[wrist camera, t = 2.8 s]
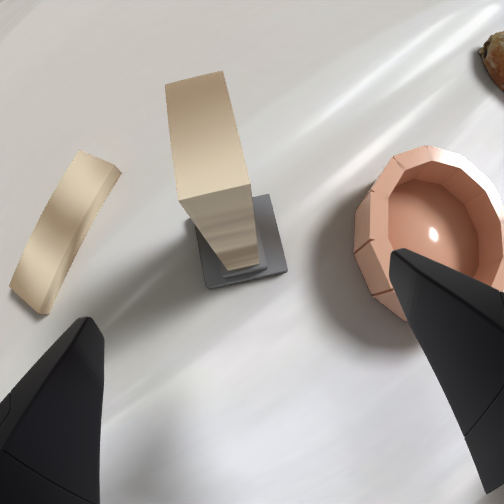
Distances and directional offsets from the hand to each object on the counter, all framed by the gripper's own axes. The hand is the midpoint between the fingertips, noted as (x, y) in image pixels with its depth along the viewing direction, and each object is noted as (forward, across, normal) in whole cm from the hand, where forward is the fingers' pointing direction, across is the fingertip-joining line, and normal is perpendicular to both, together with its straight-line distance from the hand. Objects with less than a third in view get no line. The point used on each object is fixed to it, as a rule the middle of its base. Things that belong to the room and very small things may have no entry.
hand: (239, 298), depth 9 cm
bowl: (+9, -13, +7) cm, 17 cm away
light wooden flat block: (+14, +13, +2) cm, 19 cm away
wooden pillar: (+11, 0, +5) cm, 12 cm away
